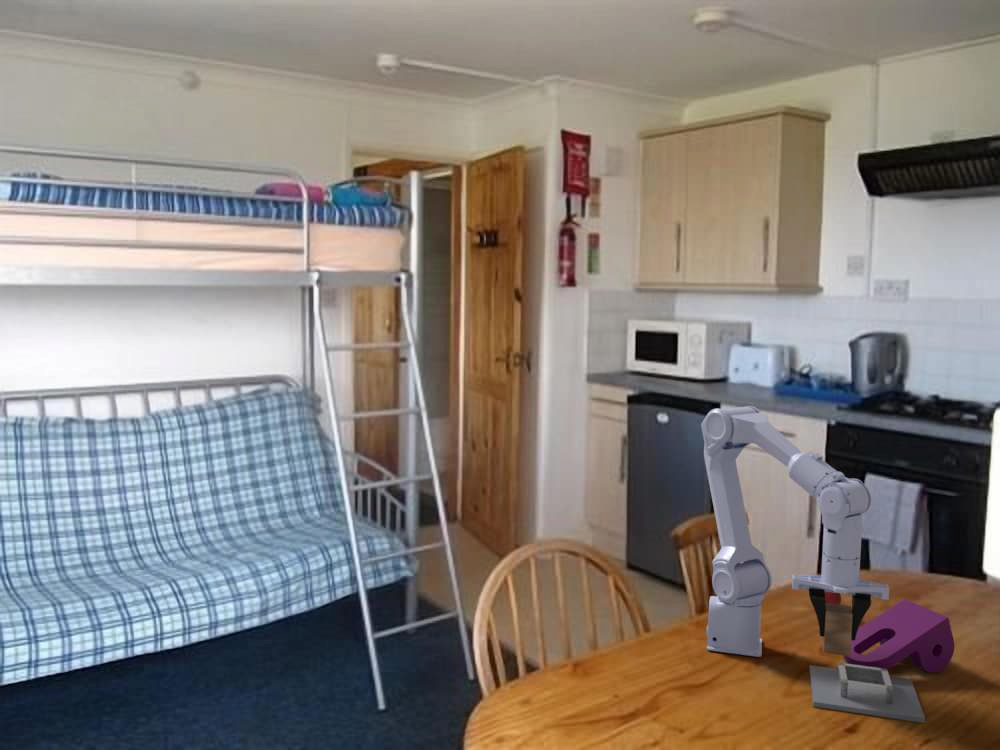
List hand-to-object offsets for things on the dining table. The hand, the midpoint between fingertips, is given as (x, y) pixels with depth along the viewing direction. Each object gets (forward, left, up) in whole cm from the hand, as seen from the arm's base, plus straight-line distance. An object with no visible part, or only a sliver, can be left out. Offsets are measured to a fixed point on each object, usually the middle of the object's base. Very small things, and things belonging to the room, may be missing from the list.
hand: (837, 636), depth 141 cm
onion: (0, +35, -10) cm, 36 cm away
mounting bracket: (+10, +13, -9) cm, 19 cm away
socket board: (+4, 0, -9) cm, 10 cm away
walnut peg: (0, 0, -2) cm, 2 cm away
